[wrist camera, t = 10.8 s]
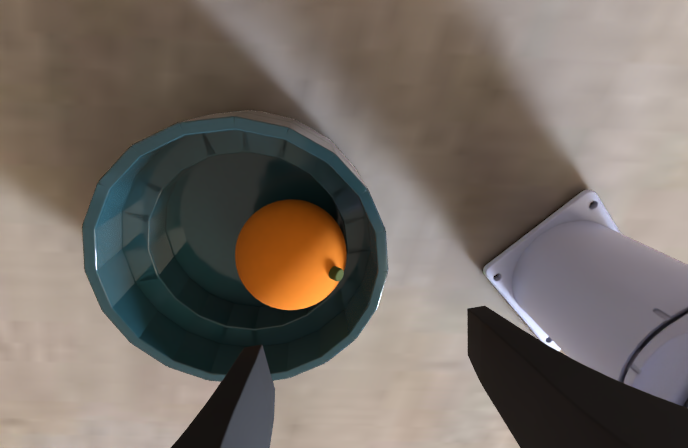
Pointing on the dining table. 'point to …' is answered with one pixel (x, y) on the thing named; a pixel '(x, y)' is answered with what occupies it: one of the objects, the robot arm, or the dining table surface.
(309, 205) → the mandarin
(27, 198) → the dining table surface
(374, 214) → the bowl
